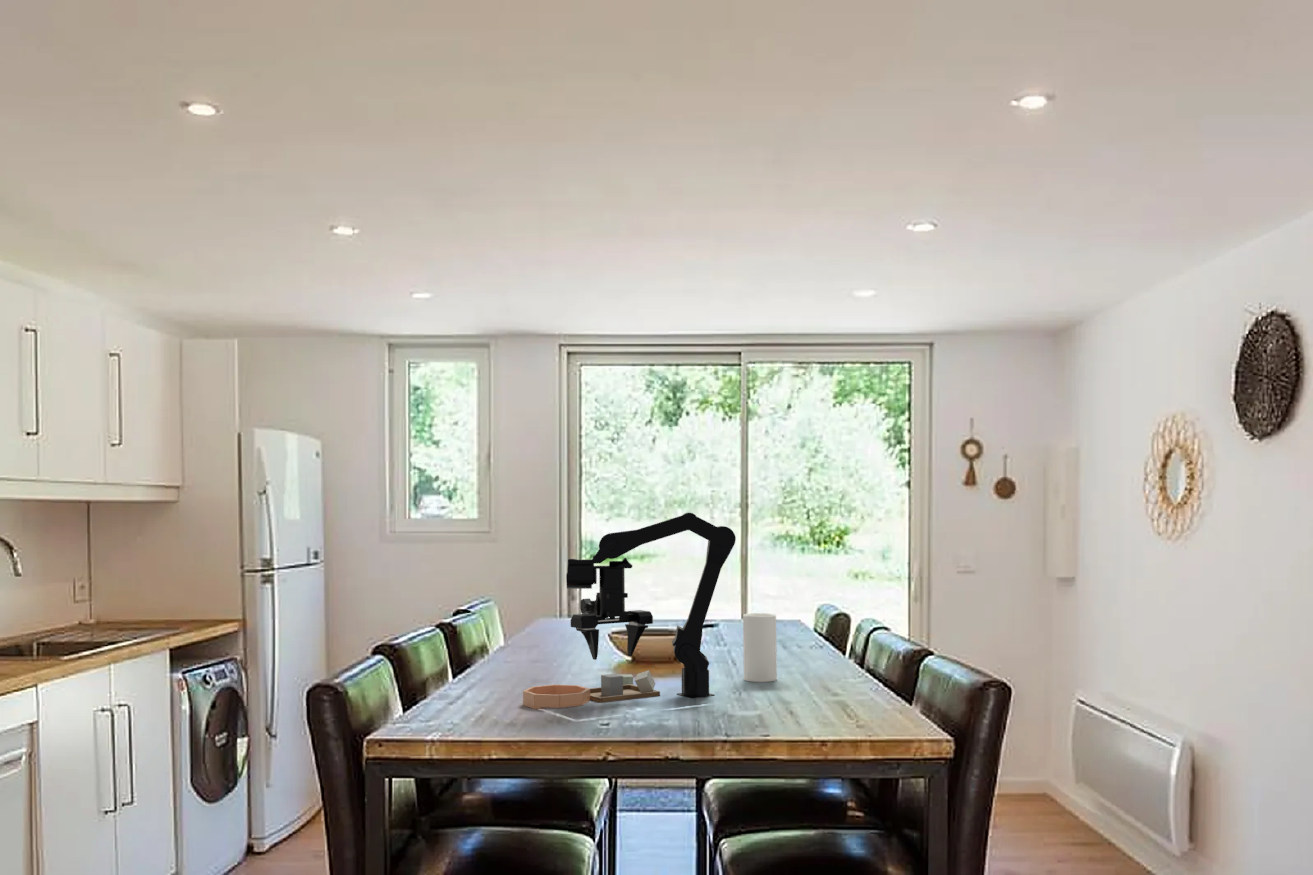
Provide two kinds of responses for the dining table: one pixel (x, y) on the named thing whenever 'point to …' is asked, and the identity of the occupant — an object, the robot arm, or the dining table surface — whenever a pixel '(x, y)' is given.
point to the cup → (759, 647)
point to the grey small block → (645, 681)
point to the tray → (628, 693)
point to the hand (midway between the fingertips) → (612, 657)
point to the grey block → (611, 685)
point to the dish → (555, 696)
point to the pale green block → (627, 679)
